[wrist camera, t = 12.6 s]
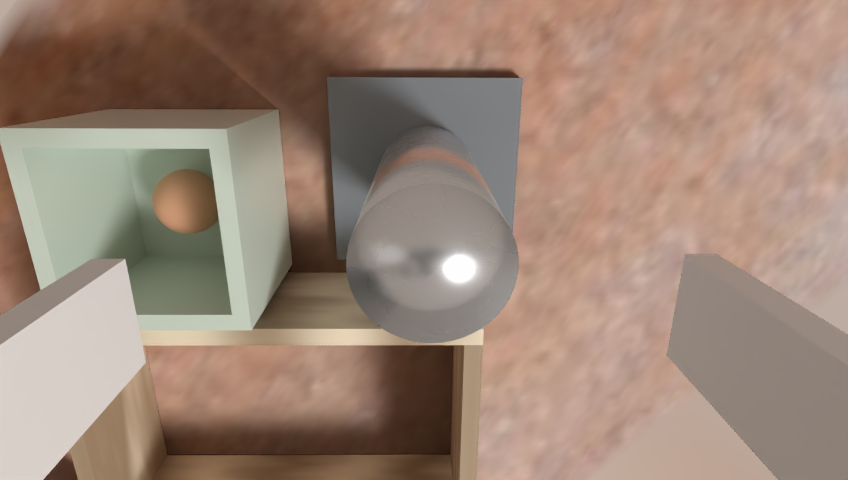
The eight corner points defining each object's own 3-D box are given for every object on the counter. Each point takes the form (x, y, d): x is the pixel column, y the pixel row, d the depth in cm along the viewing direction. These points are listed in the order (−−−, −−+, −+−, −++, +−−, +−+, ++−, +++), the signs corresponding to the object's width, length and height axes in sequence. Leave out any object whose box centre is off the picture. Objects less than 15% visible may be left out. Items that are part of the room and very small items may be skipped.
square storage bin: (140, 263, 27) (51, 330, 21) (110, 108, 24) (-4, 128, 18) (292, 264, 27) (251, 330, 21) (278, 109, 24) (226, 128, 18)
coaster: (338, 255, 27) (337, 259, 26) (329, 76, 24) (326, 77, 23) (508, 255, 27) (510, 259, 27) (520, 77, 24) (522, 78, 24)
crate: (156, 465, 32) (99, 554, 26) (114, 272, 27) (35, 328, 22) (463, 464, 32) (472, 553, 26) (470, 272, 27) (483, 328, 22)
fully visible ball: (176, 222, 26) (145, 242, 23) (165, 163, 25) (133, 177, 22) (235, 222, 26) (213, 243, 23) (228, 163, 25) (203, 177, 22)
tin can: (380, 218, 26) (350, 343, 14) (378, 125, 24) (341, 182, 13) (472, 218, 26) (513, 343, 14) (475, 125, 24) (524, 183, 13)
